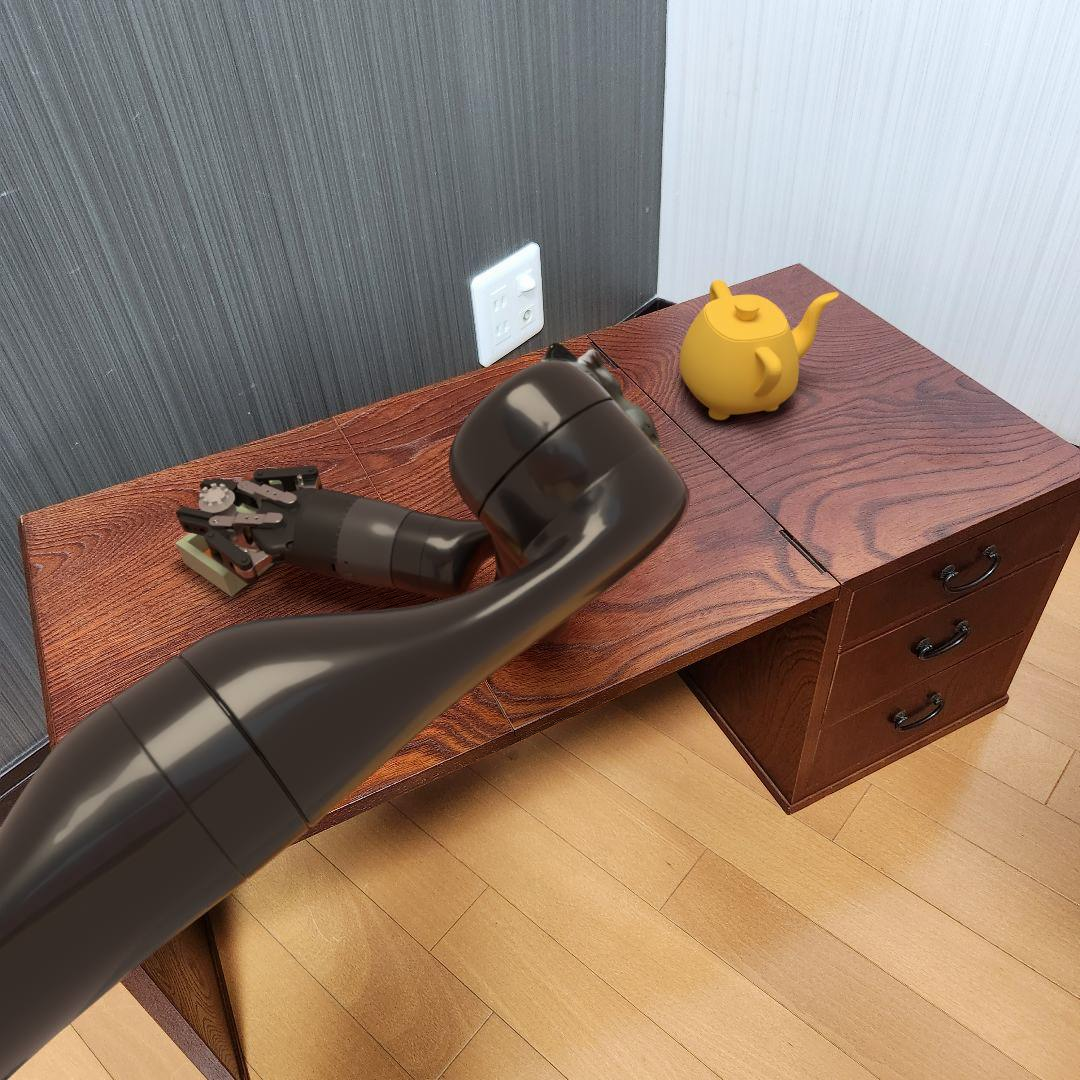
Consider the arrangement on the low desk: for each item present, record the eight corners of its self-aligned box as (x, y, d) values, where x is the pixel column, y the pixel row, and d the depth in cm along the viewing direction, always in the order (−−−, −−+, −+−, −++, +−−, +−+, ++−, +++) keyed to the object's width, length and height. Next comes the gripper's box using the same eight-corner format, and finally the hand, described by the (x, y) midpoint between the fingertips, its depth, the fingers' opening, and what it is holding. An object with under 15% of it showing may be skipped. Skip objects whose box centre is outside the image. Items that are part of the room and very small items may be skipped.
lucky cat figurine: (553, 535, 91) (486, 415, 84) (520, 498, 101) (459, 389, 95) (682, 456, 92) (625, 332, 85) (636, 427, 102) (583, 315, 96)
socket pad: (231, 597, 86) (223, 576, 84) (184, 563, 90) (175, 542, 87) (336, 515, 94) (331, 494, 92) (289, 487, 97) (283, 466, 95)
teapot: (777, 449, 99) (796, 355, 90) (655, 409, 104) (662, 318, 96) (820, 379, 107) (840, 288, 98) (704, 346, 112) (714, 256, 104)
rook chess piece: (270, 550, 90) (248, 489, 84) (232, 577, 87) (207, 516, 82) (242, 530, 92) (219, 469, 86) (204, 556, 89) (178, 495, 84)
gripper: (387, 456, 84) (221, 424, 88) (314, 567, 74) (132, 525, 79) (399, 516, 89) (242, 483, 93) (332, 626, 80) (161, 584, 84)
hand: (192, 502), depth 86 cm, fingers closed on rook chess piece, 3 cm apart
